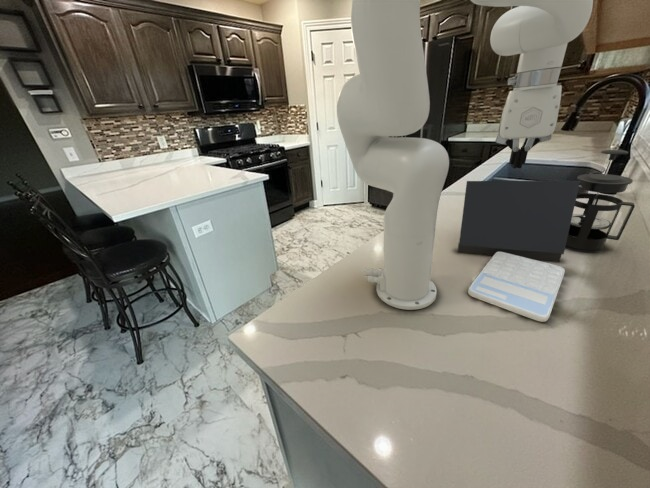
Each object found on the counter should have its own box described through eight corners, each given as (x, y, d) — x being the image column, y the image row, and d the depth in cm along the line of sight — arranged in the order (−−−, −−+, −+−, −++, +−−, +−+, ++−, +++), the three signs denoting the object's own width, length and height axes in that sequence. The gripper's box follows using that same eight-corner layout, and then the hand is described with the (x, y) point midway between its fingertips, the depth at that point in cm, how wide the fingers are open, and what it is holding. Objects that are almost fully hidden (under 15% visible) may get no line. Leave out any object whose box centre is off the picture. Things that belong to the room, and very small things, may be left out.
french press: (548, 245, 67) (580, 153, 57) (553, 232, 73) (582, 146, 63) (613, 258, 60) (664, 155, 49) (612, 242, 66) (657, 147, 55)
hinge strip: (457, 252, 69) (458, 244, 68) (457, 250, 70) (458, 242, 69) (559, 261, 61) (562, 252, 60) (557, 259, 62) (561, 250, 61)
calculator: (564, 273, 57) (567, 266, 56) (546, 325, 45) (549, 317, 44) (495, 255, 66) (497, 249, 65) (465, 295, 54) (466, 288, 53)
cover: (467, 181, 64) (466, 181, 64) (458, 246, 68) (458, 245, 68) (580, 180, 56) (579, 180, 56) (563, 254, 60) (562, 254, 60)
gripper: (497, 85, 56) (483, 171, 64) (588, 74, 50) (559, 170, 59) (492, 86, 62) (479, 164, 70) (573, 75, 56) (548, 162, 65)
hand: (515, 167), depth 64 cm, fingers closed
